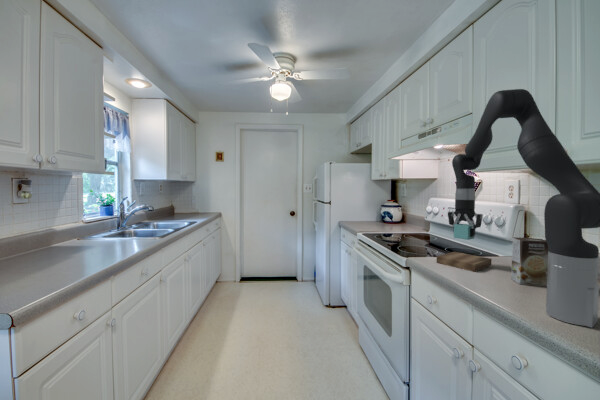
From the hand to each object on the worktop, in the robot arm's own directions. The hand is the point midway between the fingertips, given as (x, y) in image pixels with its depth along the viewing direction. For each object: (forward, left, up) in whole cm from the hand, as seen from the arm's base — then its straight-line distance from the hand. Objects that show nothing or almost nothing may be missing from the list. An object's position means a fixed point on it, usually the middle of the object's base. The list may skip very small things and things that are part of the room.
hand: (464, 235), depth 119 cm
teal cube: (0, 0, -1) cm, 1 cm away
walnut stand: (0, 0, -13) cm, 13 cm away
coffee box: (-25, +5, -13) cm, 29 cm away
